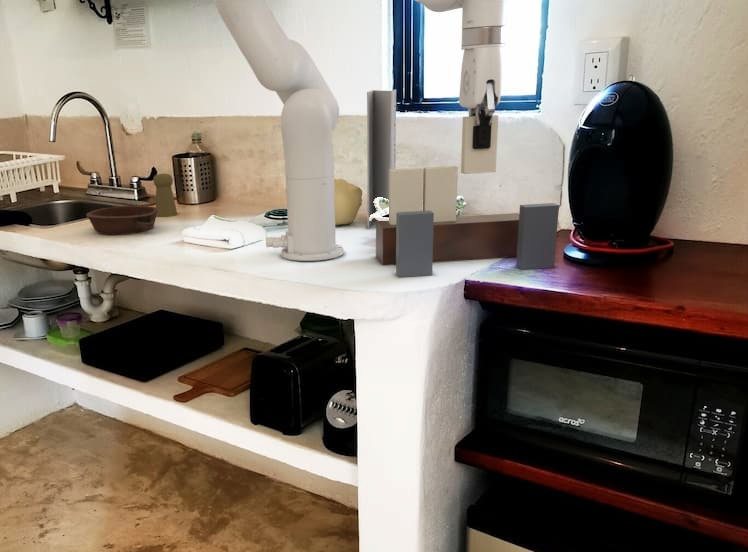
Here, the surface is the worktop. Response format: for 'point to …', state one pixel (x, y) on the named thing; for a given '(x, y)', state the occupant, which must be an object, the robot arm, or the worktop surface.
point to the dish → (123, 219)
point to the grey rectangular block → (537, 235)
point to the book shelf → (459, 238)
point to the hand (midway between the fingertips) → (479, 147)
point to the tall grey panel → (380, 144)
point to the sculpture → (346, 201)
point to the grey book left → (414, 243)
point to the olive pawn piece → (164, 195)
